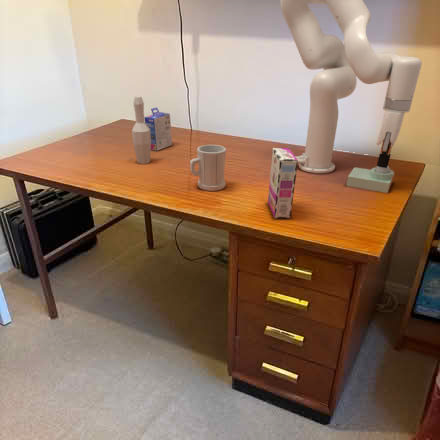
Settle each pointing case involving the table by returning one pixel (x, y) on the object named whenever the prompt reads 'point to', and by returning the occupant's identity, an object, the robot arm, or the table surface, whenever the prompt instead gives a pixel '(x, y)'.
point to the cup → (210, 167)
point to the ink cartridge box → (159, 129)
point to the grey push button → (382, 169)
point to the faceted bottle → (141, 133)
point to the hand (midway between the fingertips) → (382, 165)
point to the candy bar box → (282, 182)
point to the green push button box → (370, 179)
